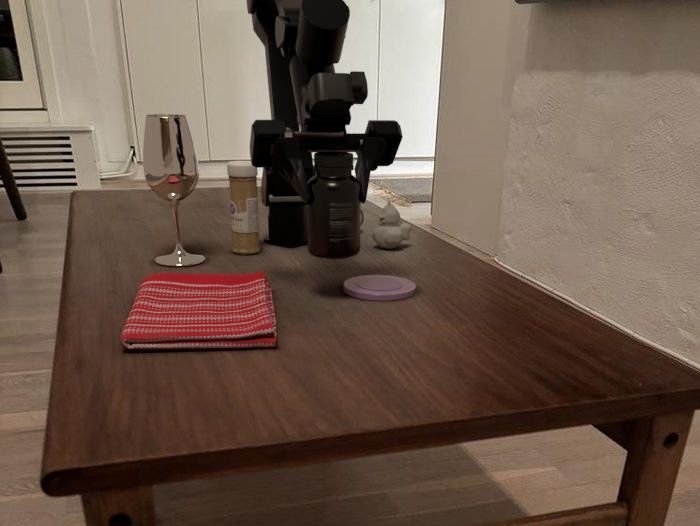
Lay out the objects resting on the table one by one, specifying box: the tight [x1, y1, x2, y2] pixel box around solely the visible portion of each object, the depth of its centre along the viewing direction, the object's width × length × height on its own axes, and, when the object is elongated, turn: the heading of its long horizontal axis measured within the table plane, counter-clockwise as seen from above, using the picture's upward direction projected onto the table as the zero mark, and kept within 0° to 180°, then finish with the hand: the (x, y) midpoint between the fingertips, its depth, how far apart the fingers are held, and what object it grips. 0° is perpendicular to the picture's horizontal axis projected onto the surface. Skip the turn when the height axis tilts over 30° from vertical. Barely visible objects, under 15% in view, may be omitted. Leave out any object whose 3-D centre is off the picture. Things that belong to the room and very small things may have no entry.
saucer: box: [342, 274, 417, 302], centre depth 101 cm, size 10×10×1 cm
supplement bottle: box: [307, 151, 362, 260], centre depth 92 cm, size 7×7×12 cm
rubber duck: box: [372, 197, 412, 250], centre depth 122 cm, size 5×7×8 cm
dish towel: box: [119, 270, 278, 351], centre depth 89 cm, size 17×24×3 cm
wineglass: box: [142, 113, 206, 268], centre depth 108 cm, size 8×8×20 cm
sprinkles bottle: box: [226, 160, 261, 256], centre depth 115 cm, size 5×5×14 cm
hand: (336, 202), depth 91 cm, fingers closed on supplement bottle, 7 cm apart
